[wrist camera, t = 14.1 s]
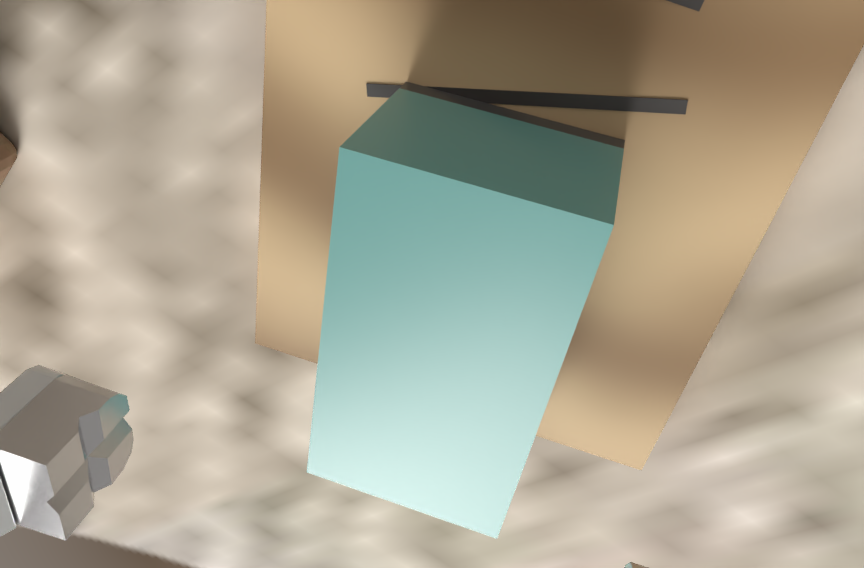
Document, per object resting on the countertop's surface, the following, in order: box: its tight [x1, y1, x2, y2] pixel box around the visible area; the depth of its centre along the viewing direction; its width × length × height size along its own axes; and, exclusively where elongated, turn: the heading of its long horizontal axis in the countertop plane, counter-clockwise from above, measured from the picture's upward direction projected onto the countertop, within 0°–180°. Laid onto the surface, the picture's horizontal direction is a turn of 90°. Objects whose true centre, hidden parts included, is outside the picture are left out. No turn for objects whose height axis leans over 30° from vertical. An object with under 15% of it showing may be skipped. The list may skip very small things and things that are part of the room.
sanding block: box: [307, 82, 625, 539], centre depth 16 cm, size 9×5×4 cm, turn 172°
